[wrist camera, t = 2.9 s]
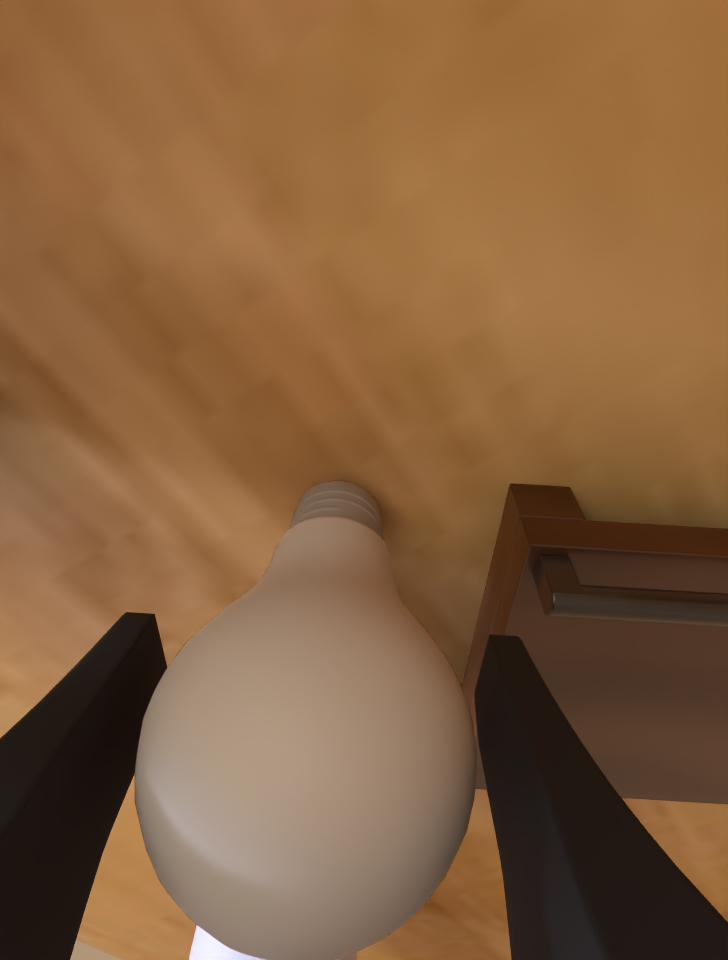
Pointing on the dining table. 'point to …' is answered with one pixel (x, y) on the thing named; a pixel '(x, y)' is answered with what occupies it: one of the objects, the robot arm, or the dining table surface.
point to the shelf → (618, 639)
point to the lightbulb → (308, 750)
